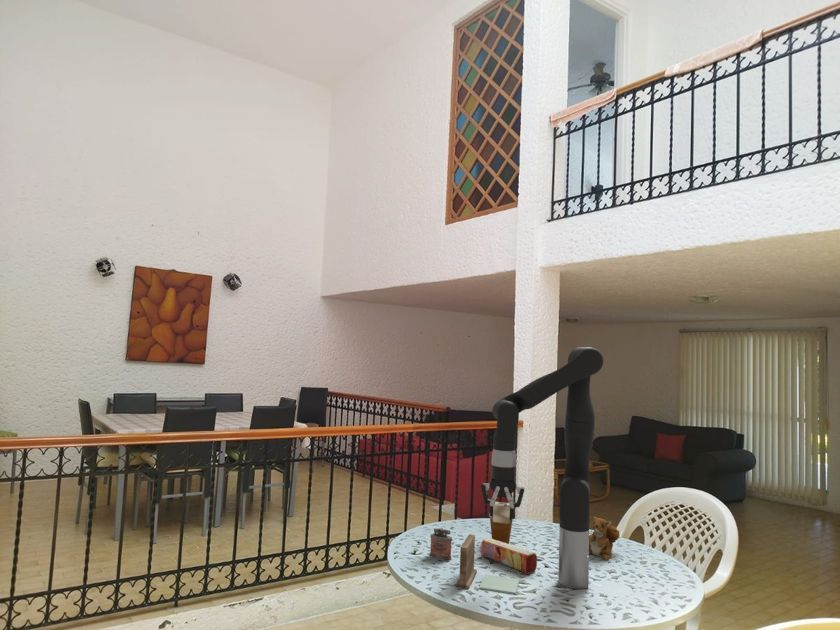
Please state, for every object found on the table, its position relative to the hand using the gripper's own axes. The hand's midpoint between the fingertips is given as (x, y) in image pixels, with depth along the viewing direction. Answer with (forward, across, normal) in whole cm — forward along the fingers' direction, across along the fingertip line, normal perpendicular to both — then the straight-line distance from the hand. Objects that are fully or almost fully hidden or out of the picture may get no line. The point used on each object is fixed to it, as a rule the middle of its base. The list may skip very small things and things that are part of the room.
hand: (501, 518), depth 176 cm
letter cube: (+1, 0, 0) cm, 1 cm away
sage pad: (+20, 0, 0) cm, 20 cm away
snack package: (+21, 0, -19) cm, 28 cm away
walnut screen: (+20, +10, 0) cm, 23 cm away
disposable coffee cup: (+20, +5, -39) cm, 44 cm away
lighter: (+20, +23, -16) cm, 35 cm away
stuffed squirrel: (+20, -32, -44) cm, 58 cm away
